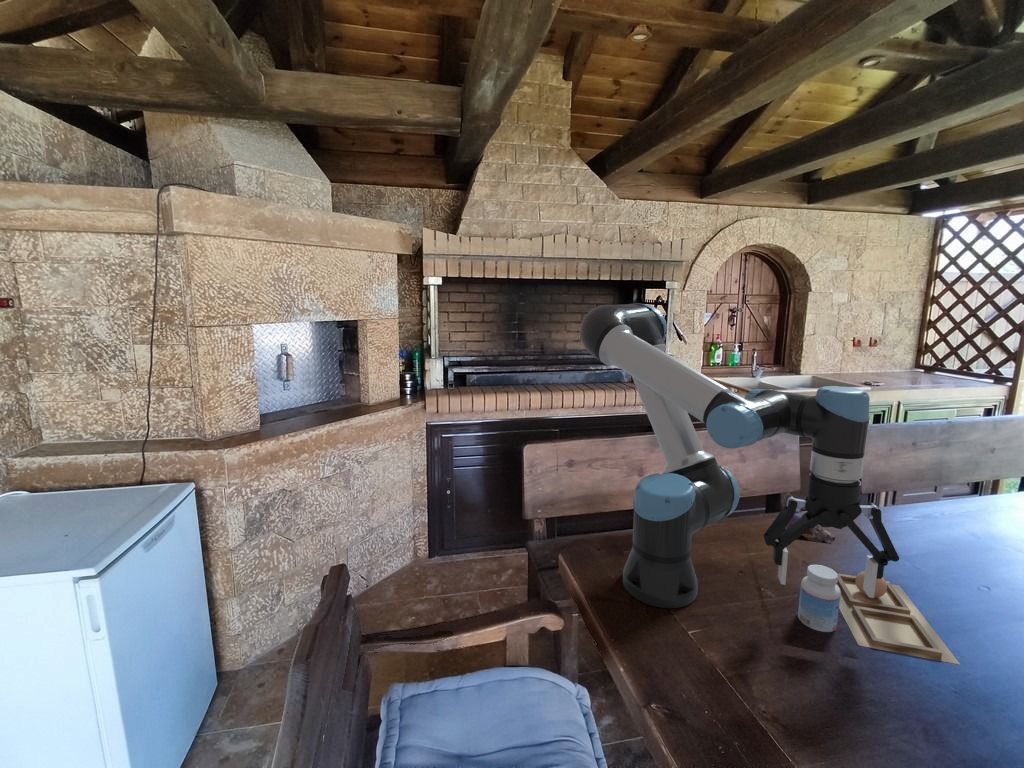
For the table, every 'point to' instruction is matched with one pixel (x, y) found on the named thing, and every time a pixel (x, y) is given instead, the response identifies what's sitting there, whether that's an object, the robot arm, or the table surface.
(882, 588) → the egg
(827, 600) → the pill bottle
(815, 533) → the skull
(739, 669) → the table surface
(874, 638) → the tray
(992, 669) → the table surface
